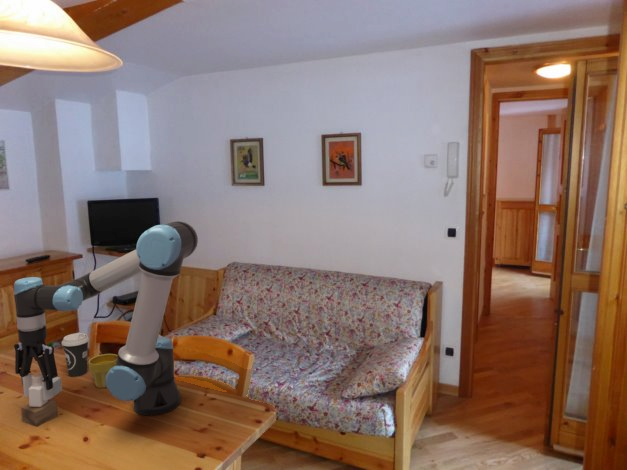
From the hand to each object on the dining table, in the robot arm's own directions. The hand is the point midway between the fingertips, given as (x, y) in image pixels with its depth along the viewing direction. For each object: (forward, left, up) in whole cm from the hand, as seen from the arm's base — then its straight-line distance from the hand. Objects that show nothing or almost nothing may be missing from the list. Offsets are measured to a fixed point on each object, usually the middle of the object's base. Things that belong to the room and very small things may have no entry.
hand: (38, 396), depth 144 cm
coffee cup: (+15, -30, -8) cm, 34 cm away
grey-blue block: (+12, -13, -8) cm, 19 cm away
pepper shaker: (0, 0, -3) cm, 3 cm away
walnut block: (0, 0, -8) cm, 8 cm away
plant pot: (-2, -26, -8) cm, 27 cm away
